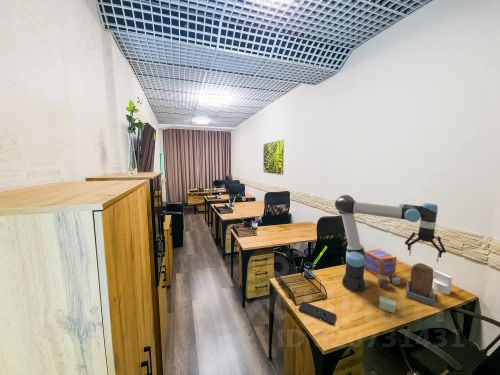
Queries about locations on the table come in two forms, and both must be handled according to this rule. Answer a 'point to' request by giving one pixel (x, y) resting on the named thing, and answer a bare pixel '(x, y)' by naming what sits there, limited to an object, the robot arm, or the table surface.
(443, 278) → the white phone stand
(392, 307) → the sage brick
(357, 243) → the robot arm
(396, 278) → the grey puck
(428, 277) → the block
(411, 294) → the tray
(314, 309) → the smart home device
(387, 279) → the walnut cube
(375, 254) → the game box
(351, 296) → the table surface
